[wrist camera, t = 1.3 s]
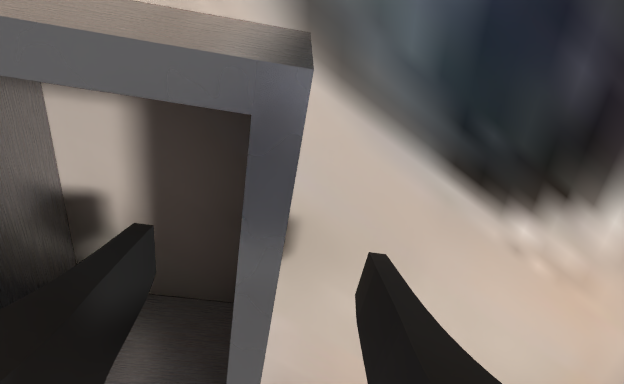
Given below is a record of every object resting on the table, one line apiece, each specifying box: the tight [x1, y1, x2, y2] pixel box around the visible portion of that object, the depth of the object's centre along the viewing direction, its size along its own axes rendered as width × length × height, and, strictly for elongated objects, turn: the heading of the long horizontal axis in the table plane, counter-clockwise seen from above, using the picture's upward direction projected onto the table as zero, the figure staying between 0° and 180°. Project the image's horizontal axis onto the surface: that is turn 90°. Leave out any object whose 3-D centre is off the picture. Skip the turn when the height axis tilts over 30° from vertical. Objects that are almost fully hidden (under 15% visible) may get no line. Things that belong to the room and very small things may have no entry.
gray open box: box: [0, 0, 314, 384], centre depth 13 cm, size 14×10×5 cm
